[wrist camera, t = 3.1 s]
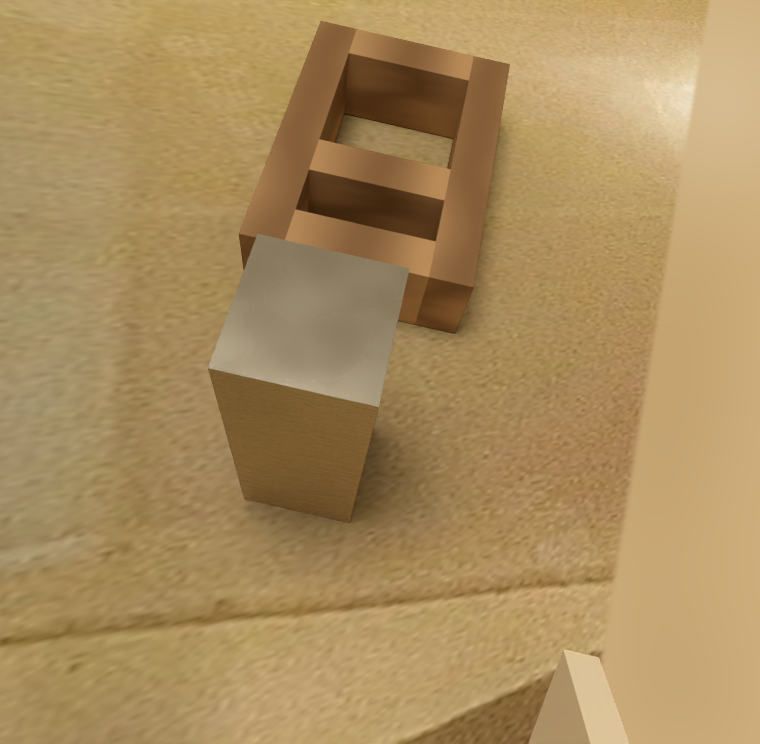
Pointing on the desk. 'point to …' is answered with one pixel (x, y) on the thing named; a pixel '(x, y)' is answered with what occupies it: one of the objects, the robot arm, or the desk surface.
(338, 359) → the grey tall rectangular block
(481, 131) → the wooden slotted frame
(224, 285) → the desk surface
